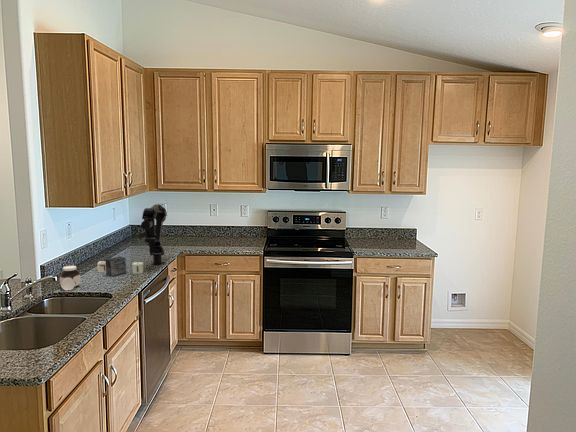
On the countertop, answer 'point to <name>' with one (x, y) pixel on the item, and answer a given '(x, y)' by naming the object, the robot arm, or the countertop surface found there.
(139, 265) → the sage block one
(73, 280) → the spread jar
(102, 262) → the cream block seven
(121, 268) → the small box
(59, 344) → the countertop surface
